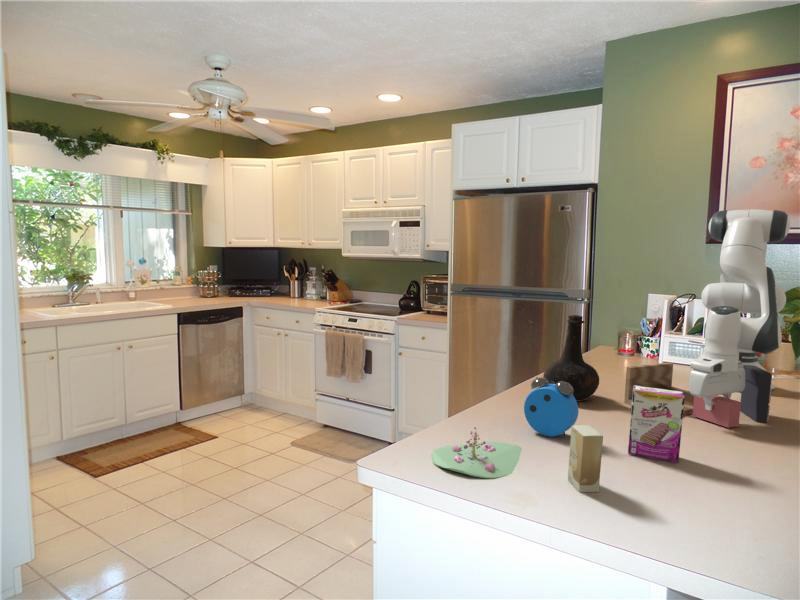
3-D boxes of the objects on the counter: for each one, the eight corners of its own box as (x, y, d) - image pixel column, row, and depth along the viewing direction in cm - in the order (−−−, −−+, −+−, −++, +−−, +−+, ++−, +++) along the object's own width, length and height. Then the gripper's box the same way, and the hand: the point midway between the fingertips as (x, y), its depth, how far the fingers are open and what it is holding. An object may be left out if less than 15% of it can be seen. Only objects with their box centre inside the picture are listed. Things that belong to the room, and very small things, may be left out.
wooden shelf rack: (666, 396, 176) (669, 362, 175) (711, 410, 162) (714, 373, 161) (624, 402, 168) (626, 366, 167) (667, 417, 154) (670, 378, 152)
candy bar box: (627, 455, 125) (632, 389, 123) (628, 448, 129) (632, 384, 127) (679, 464, 120) (685, 396, 118) (678, 456, 124) (683, 390, 123)
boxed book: (702, 413, 157) (704, 391, 156) (738, 425, 147) (740, 402, 146) (692, 415, 155) (694, 393, 154) (728, 427, 145) (730, 403, 144)
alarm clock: (577, 436, 136) (580, 381, 135) (569, 443, 131) (572, 386, 130) (531, 425, 144) (533, 373, 143) (521, 431, 139) (524, 377, 138)
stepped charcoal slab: (770, 423, 151) (774, 373, 149) (753, 422, 152) (758, 372, 150) (752, 411, 162) (756, 365, 160) (737, 410, 162) (741, 364, 161)
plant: (470, 434, 138) (471, 401, 137) (543, 454, 125) (544, 419, 124) (414, 463, 118) (415, 425, 117) (493, 491, 106) (495, 448, 105)
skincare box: (566, 479, 111) (570, 424, 109) (586, 478, 111) (589, 424, 110) (579, 493, 104) (583, 435, 103) (600, 493, 105) (603, 435, 103)
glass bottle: (539, 401, 168) (543, 316, 165) (545, 387, 184) (549, 310, 182) (597, 408, 161) (603, 320, 158) (598, 394, 178) (603, 314, 175)
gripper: (732, 357, 156) (728, 401, 157) (686, 362, 148) (682, 409, 149) (753, 362, 150) (749, 407, 152) (707, 367, 142) (703, 415, 143)
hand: (716, 408), depth 150 cm, fingers closed on boxed book, 4 cm apart
